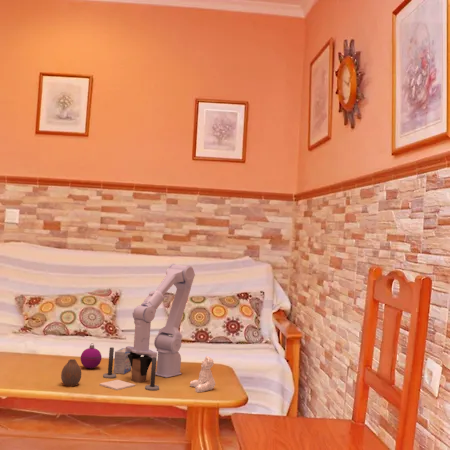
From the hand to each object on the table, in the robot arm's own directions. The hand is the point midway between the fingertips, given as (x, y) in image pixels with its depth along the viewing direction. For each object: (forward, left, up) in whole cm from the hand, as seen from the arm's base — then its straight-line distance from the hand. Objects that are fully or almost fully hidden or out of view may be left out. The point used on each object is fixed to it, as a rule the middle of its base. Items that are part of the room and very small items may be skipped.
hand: (139, 374), depth 211 cm
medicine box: (-5, -14, -3) cm, 15 cm away
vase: (+23, -11, -3) cm, 26 cm away
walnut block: (0, 0, -2) cm, 2 cm away
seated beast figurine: (-10, +23, -3) cm, 25 cm away
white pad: (+11, 0, -2) cm, 11 cm away
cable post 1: (+4, -11, -2) cm, 12 cm away
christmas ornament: (+1, -26, -3) cm, 26 cm away
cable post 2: (+4, +11, -2) cm, 12 cm away
